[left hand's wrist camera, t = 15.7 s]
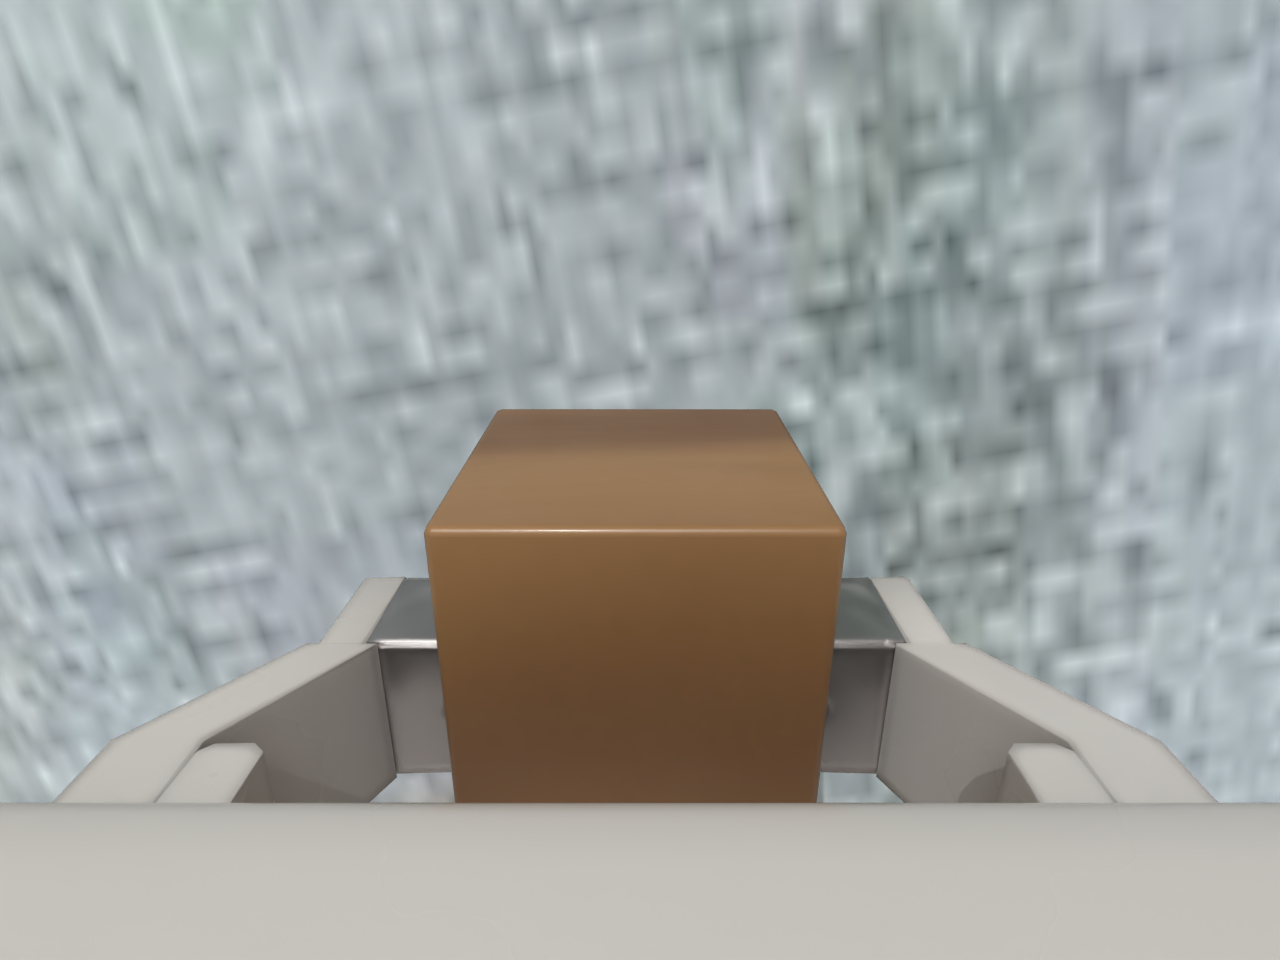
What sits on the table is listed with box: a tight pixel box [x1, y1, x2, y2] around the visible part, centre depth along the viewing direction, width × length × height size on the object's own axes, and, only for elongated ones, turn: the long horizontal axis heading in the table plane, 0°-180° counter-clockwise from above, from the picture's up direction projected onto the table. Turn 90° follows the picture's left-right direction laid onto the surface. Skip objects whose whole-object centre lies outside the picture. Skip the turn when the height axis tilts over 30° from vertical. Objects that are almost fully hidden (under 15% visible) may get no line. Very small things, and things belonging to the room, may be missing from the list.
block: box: [424, 409, 847, 803], centre depth 10 cm, size 5×4×4 cm
